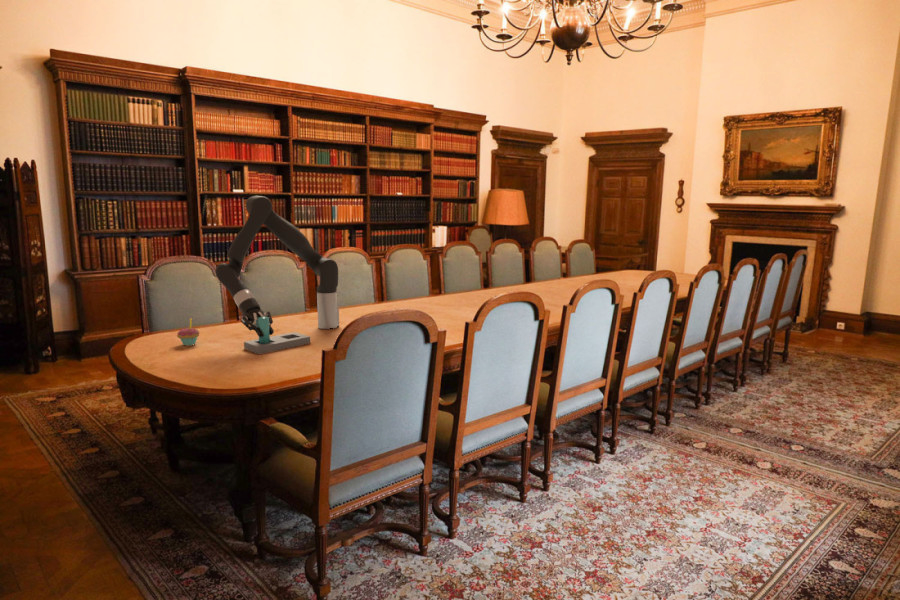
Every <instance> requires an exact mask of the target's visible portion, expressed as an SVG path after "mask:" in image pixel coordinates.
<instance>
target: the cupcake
mask: <svg viewBox="0 0 900 600" xmlns="http://www.w3.org/2000/svg"><path fill="white" fill-rule="evenodd" d="M192 318H193V317H190V319H189V327H187V328H186V327H185V328H182V329H180V330H179V331H178V332H177V335H176V336H177V338H178V339H180V341H181V342H182V345H183V346H184V345H191V346H194V345H193V344H195V343H197V340H198V337H199V336H200V331H199V330H198V329H196V328H193V327H192V324H193V319H192ZM195 345H196V344H195Z"/></svg>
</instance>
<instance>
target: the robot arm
mask: <svg viewBox="0 0 900 600" xmlns="http://www.w3.org/2000/svg"><path fill="white" fill-rule="evenodd" d="M245 209H246V211H247V213H248V214H249V216H248V217H247V220H246V222H245V223H244V225H243V227H242V228H241V229H240V231H239V232H238V233H237V234H236V235H235V238H234V239H233V241H232V243H231V245H230V247H229V248H228V251H227V253H226V256H227V258H228V259H229V262H228V263H219V264H218V265H217V266H216V268H215V276H216V278H217V280H218V281H219V282H220V283H221V285H222V286H224V287H225V288H226V289H227V290H228V292H229V294H230V295H231V297H232V299H233V300H234V303H235V304H236V306H237V307H238V309H239V311H240V312H241V314H242V315H243V316H242V318H241V319H240V322H241V324H243V326H245V327H246V329H248V330H249V331H254V332H255V333H256V334H257V336H258V337H259V336H260V337H263V335H264V333H263V332H262V330H261V329H260V327H259V326H258V318H259V317H269V331H270V336H272V335H273V334H274V333H275V331H274V329H273V327H272V325H273V323H274V322H273V318H272V315H271V312H270V311H267V312H264V311H263V310H262V309H261V306H260V304H259V303H258V301H257V299H256V298H255V296H254V295H253V293H252V292H251V291H250V290H249V288H248V287H247V285H246V283H245V282H244V281H242V280H241V279H240V275H241V273H242V269H243V264H244V260H245V258H246V255H247V253H248V251H249V249H250V247H251V245H252V243H253V240H254V239H255V238H256V236H257V234H258V233H259V231H260V229H261V228H262V226H263V225H264V226H265V227H266V228H267V229H269V231H271V233H272V234H273V235H274V236H275V237H276V238H277V239H278V240H279V241H280V242H281V243H283V245H284V246H285V247H286V248H287V249H289V251H291V252H292V253H294V254H295V255H296V256H297V257H299V258H300V259H301V260H303V262H305V263H306V265H307V266H308V267H309V268H310V270H312V271H313V273H314V274H315V275H317V276H318V277H319V278H320V279H319V285H317V287H316V300H317V301H316V303H317V304H316V305H317V307H316V308H317V327H318V328H319V329H321V330H330V328H333V329H336V328H338V327H337V326H339V327H340V307H339V306H338V299H337V297H338V295H337V292H338V291H337V290H338V289H337V288H338V285H339V266H338V264H337V263H338V262H336V261H335V259H332V258H328V257H327V258H326V257H324V256H322V254H320V253H319V252H317V251H316V250H315V249H314V248H313V246H312V245H311V243H310V241H309V239H308V238H307V237H306V235H305V234H303V232H302V231H301V230H300V229H298V228H297V227H296V226H295V225H294V224H292V222H289V221H288V220H286V219H285V218H283V217H282V216H280V215H279V214H277V213H276V212H275V210H274V209H273V204H272V202H271V200H270V199H269V198H268V197H266V196H262V195H252V196H250V197H248V198H247V200H246V201H245Z"/></svg>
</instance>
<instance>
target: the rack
mask: <svg viewBox="0 0 900 600" xmlns="http://www.w3.org/2000/svg"><path fill="white" fill-rule="evenodd" d="M308 343H310V344H311V336H309V335H307V334H303V333H300V332H297V331H293V332H289V333H288V332H287V333H283V334H277V335H273V336H272V335H270V343H267V344H259V338H257V339H253V340H252V339H251V340H245V341H243V348H244V350H246V349H247V350H246V351H249V352H251V351H252V353H254V354H257V355H262V353H263V354H267V352H268V353H272V351H273V352H276V350H277V351H282V350H286V349H285V348H287V349H291V348H295V346H296V347H300V345H301V346H305V345H309V344H308ZM304 344H305V345H304ZM290 347H291V348H290ZM281 349H282V350H281Z"/></svg>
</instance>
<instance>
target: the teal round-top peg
mask: <svg viewBox="0 0 900 600" xmlns="http://www.w3.org/2000/svg"><path fill="white" fill-rule="evenodd" d="M258 326H259V327H260V329H261V330H262V332H263V333H264V335H263V337H260V336H258V339H259V344H267V343H270V337H271V335H270V331H269V317H265V316H264V317H259V318H258Z"/></svg>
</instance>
